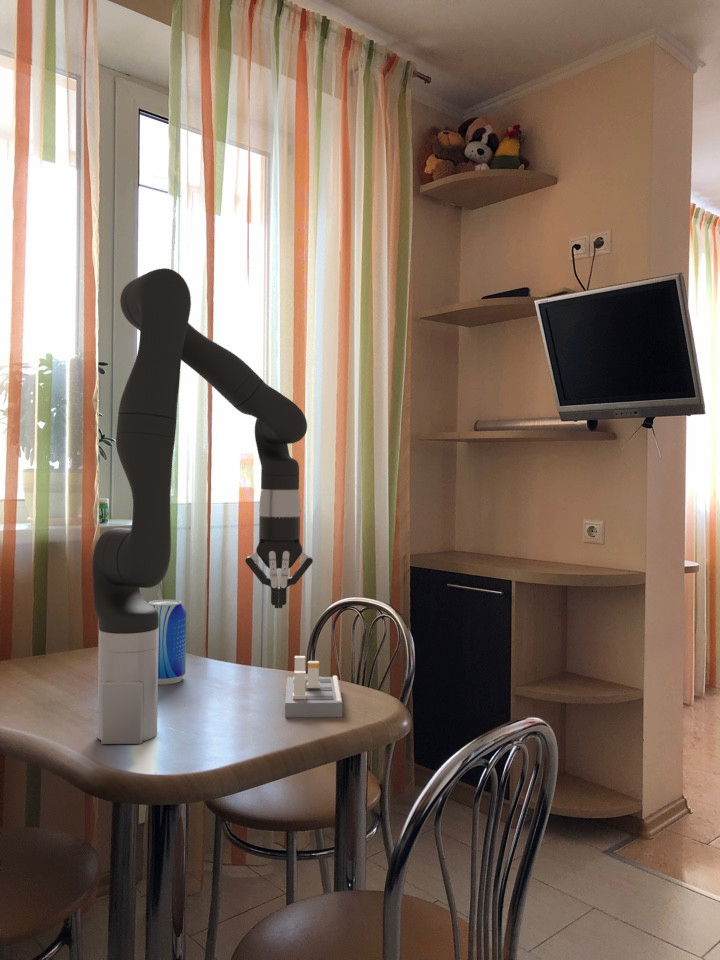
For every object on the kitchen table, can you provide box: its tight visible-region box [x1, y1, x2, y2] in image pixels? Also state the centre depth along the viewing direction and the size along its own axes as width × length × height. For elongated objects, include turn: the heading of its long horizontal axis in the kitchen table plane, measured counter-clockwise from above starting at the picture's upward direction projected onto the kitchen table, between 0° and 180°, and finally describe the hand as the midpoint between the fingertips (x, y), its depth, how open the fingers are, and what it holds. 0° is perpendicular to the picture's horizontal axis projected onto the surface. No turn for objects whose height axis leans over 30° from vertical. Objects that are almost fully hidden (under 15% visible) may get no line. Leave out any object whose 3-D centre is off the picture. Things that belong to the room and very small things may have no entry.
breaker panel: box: [284, 655, 343, 718], centre depth 150 cm, size 18×10×7 cm, turn 4°
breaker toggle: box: [307, 660, 320, 688], centre depth 150 cm, size 2×2×5 cm
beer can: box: [148, 599, 187, 686], centre depth 165 cm, size 8×8×16 cm
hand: (278, 607), depth 149 cm, fingers closed
